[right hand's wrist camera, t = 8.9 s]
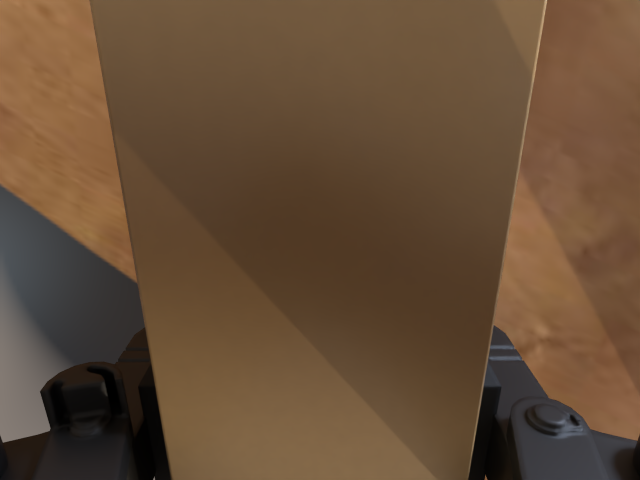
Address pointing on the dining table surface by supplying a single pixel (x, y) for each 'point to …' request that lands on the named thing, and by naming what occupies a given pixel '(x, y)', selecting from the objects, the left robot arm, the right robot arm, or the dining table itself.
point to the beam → (318, 222)
